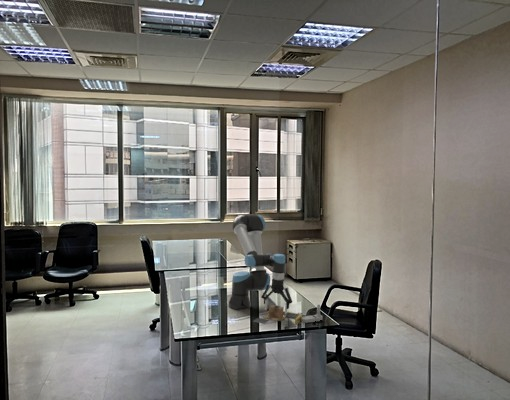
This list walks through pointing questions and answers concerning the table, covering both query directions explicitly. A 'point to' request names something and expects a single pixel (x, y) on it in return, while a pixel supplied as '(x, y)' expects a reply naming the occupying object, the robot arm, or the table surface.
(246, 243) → the robot arm
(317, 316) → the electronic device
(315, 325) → the table surface
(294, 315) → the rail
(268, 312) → the deck
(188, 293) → the table surface
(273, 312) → the clip block
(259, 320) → the mat
